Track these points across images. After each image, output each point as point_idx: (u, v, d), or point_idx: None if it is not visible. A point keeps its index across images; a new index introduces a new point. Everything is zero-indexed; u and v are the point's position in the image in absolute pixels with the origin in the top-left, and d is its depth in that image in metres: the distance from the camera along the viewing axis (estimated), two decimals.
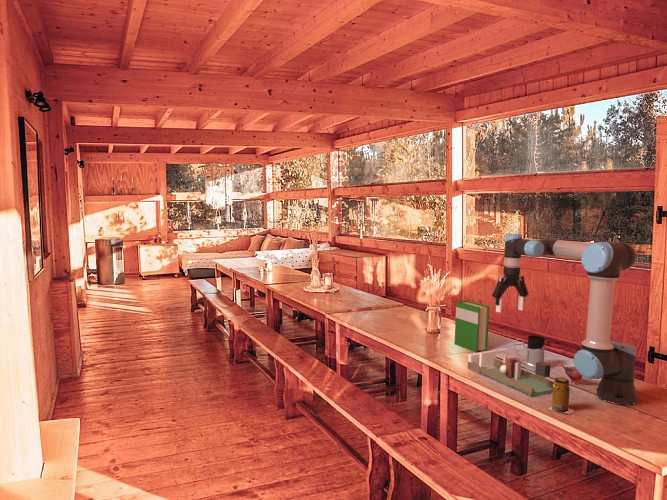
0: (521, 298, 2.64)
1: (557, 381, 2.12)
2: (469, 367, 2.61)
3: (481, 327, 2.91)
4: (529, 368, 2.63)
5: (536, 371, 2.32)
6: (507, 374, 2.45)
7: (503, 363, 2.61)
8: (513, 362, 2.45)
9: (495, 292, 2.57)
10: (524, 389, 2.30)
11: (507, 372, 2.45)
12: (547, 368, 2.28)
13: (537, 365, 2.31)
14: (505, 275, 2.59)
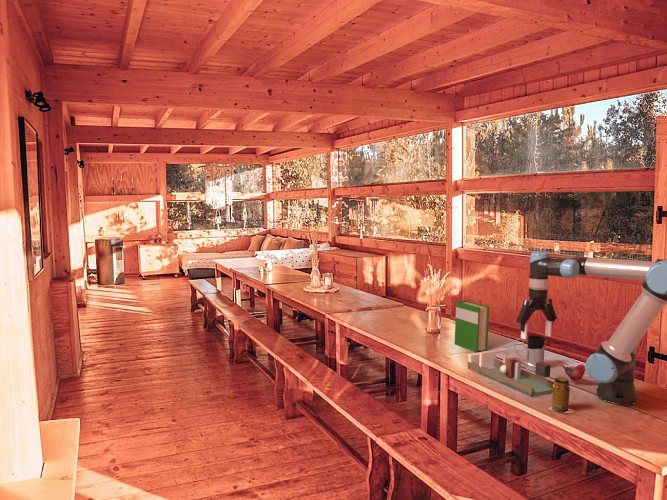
0: (549, 323, 2.39)
1: (557, 381, 2.12)
2: (469, 367, 2.61)
3: (481, 327, 2.91)
4: (529, 368, 2.63)
5: (536, 371, 2.32)
6: (507, 374, 2.45)
7: (503, 363, 2.61)
8: (513, 362, 2.45)
9: (520, 317, 2.32)
10: (524, 389, 2.30)
11: (507, 372, 2.45)
12: (547, 368, 2.28)
13: (537, 365, 2.31)
14: (531, 298, 2.34)
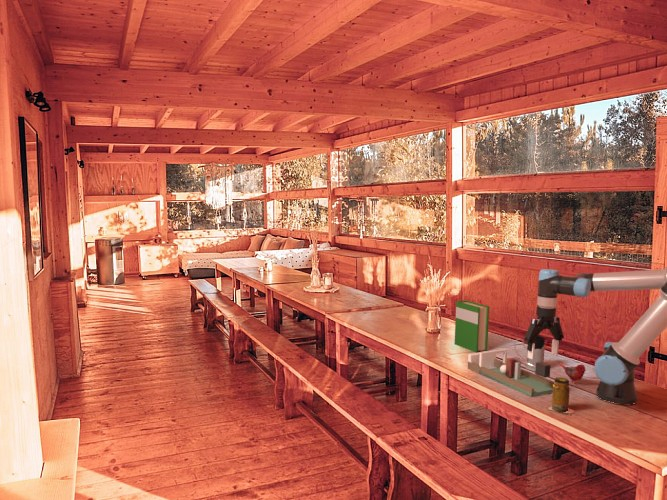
0: (556, 342, 2.32)
1: (557, 381, 2.12)
2: (469, 367, 2.61)
3: (481, 327, 2.91)
4: (529, 368, 2.63)
5: (536, 371, 2.32)
6: (507, 374, 2.45)
7: (503, 363, 2.61)
8: (513, 362, 2.45)
9: (527, 336, 2.25)
10: (524, 389, 2.30)
11: (507, 372, 2.45)
12: (547, 368, 2.28)
13: (537, 365, 2.31)
14: (539, 317, 2.27)
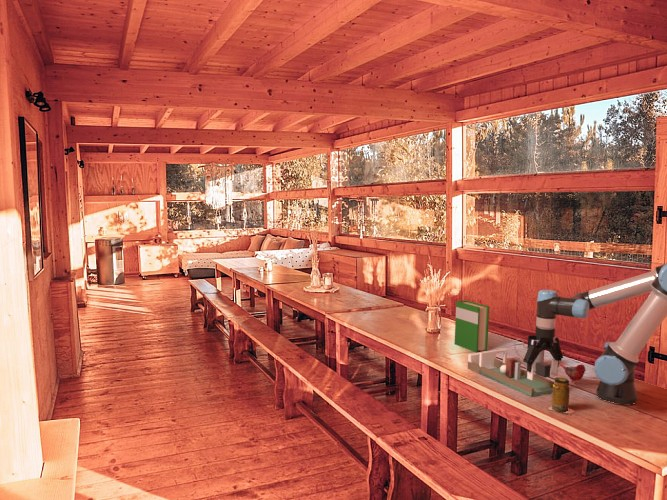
0: (555, 362, 2.33)
1: (557, 381, 2.12)
2: (469, 367, 2.61)
3: (481, 327, 2.91)
4: None
5: (536, 371, 2.32)
6: (507, 374, 2.45)
7: (503, 363, 2.61)
8: (513, 362, 2.45)
9: (527, 357, 2.26)
10: (524, 389, 2.30)
11: (507, 372, 2.45)
12: (547, 368, 2.28)
13: (537, 365, 2.31)
14: (538, 337, 2.28)
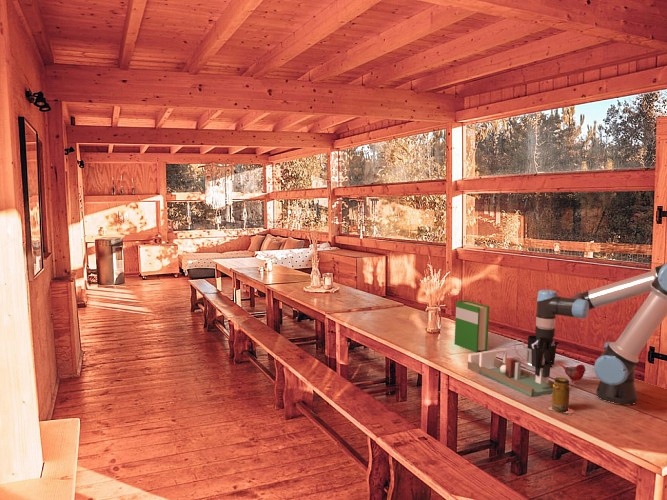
0: None
1: (557, 381, 2.12)
2: (469, 367, 2.61)
3: (481, 327, 2.91)
4: (529, 368, 2.63)
5: None
6: (507, 374, 2.45)
7: (503, 363, 2.61)
8: (513, 362, 2.45)
9: (533, 362, 2.28)
10: (524, 389, 2.30)
11: (507, 372, 2.45)
12: (546, 368, 2.28)
13: None
14: (537, 337, 2.28)
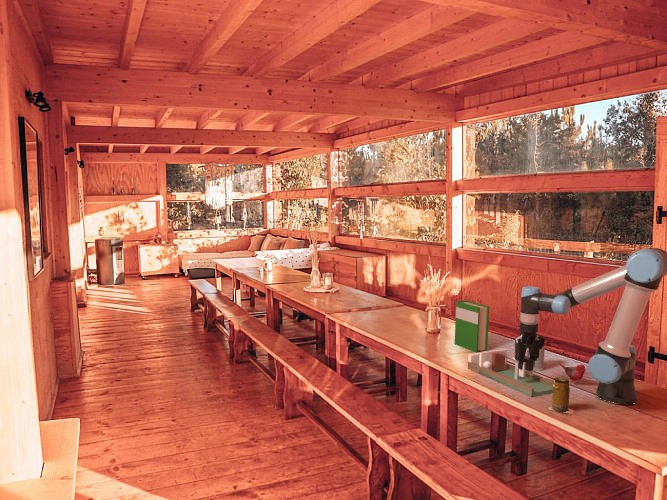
0: None
1: (557, 381, 2.12)
2: (469, 367, 2.61)
3: (481, 327, 2.91)
4: None
5: None
6: (493, 368, 2.53)
7: None
8: (499, 356, 2.53)
9: (517, 356, 2.36)
10: (524, 389, 2.30)
11: (493, 366, 2.53)
12: (530, 362, 2.36)
13: None
14: (521, 332, 2.36)
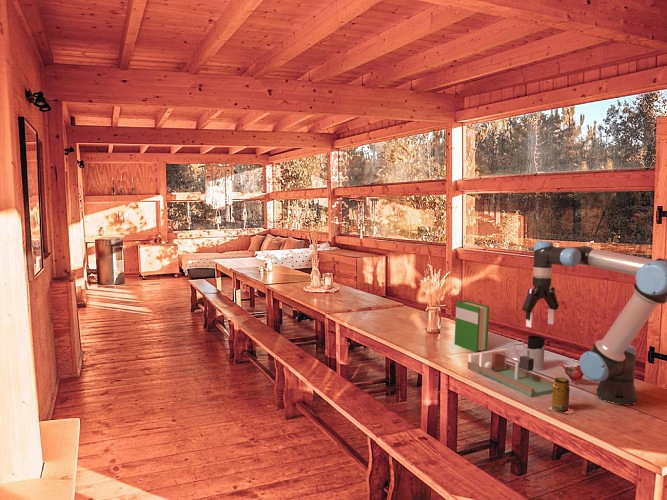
0: (551, 311, 2.43)
1: (557, 381, 2.12)
2: (469, 367, 2.61)
3: (481, 327, 2.91)
4: None
5: (520, 365, 2.40)
6: (493, 368, 2.53)
7: None
8: (499, 356, 2.53)
9: (525, 305, 2.35)
10: (524, 389, 2.30)
11: (493, 366, 2.53)
12: (530, 362, 2.36)
13: (521, 359, 2.40)
14: (535, 286, 2.37)
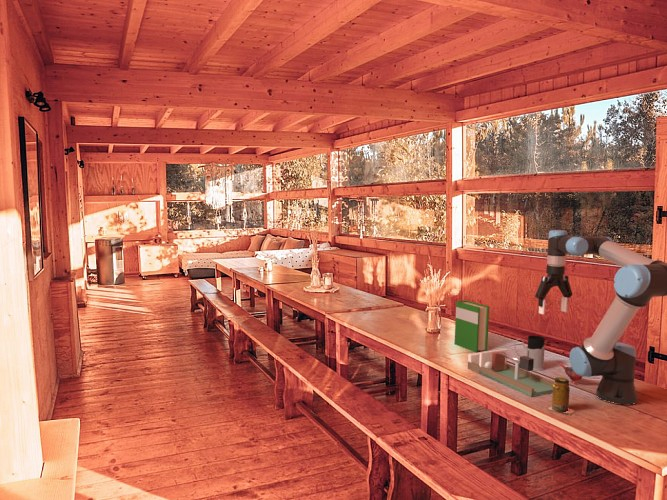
0: (565, 299, 2.47)
1: (557, 381, 2.12)
2: (469, 367, 2.61)
3: (481, 327, 2.91)
4: None
5: (520, 365, 2.40)
6: (493, 368, 2.53)
7: None
8: (499, 356, 2.53)
9: (538, 292, 2.40)
10: (524, 389, 2.30)
11: (493, 366, 2.53)
12: (530, 362, 2.36)
13: (521, 359, 2.40)
14: (549, 274, 2.42)
